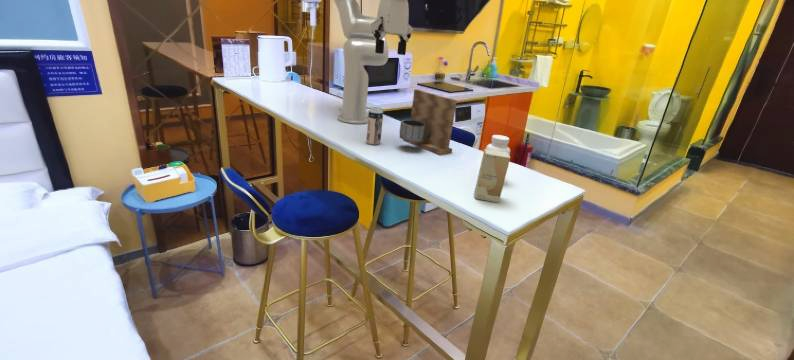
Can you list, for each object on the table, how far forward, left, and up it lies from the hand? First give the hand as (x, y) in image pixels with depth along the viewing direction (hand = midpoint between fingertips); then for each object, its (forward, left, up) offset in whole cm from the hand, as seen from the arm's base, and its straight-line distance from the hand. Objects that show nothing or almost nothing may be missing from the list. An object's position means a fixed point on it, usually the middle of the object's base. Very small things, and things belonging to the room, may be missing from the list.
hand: (390, 54), depth 123 cm
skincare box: (+49, -5, -29) cm, 57 cm away
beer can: (+1, -4, -29) cm, 30 cm away
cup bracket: (+11, +7, -29) cm, 32 cm away
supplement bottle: (+42, +7, -29) cm, 51 cm away
